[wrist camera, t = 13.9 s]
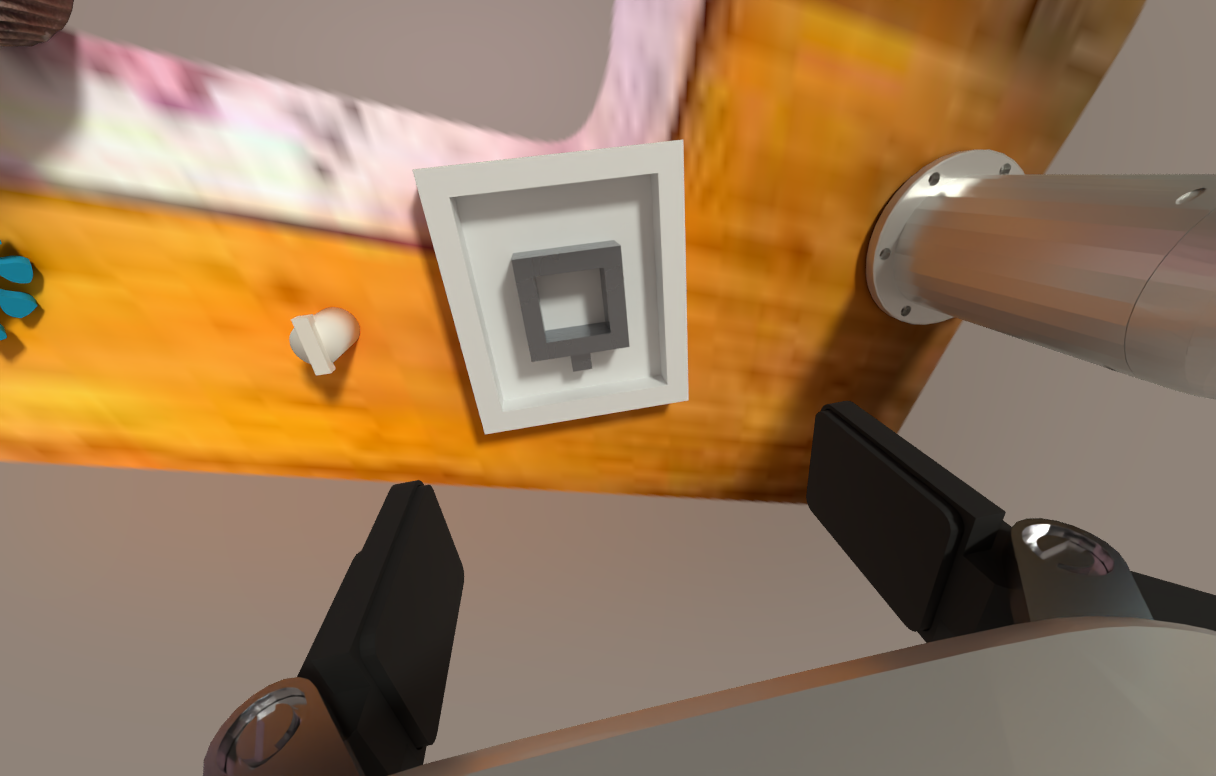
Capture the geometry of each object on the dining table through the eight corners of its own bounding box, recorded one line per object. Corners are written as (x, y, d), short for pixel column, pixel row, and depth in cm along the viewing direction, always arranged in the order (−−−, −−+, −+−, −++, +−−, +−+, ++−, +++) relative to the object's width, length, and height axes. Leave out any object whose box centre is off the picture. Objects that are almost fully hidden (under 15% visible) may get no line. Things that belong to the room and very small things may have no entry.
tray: (671, 142, 28) (683, 139, 26) (678, 386, 36) (688, 400, 34) (422, 170, 26) (412, 169, 24) (488, 417, 34) (484, 434, 32)
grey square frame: (613, 239, 29) (620, 245, 27) (624, 354, 33) (631, 367, 31) (513, 253, 29) (511, 259, 26) (535, 368, 32) (535, 383, 30)
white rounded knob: (349, 298, 29) (324, 315, 25) (368, 348, 31) (347, 370, 27) (305, 304, 29) (273, 322, 25) (326, 354, 30) (300, 377, 27)
